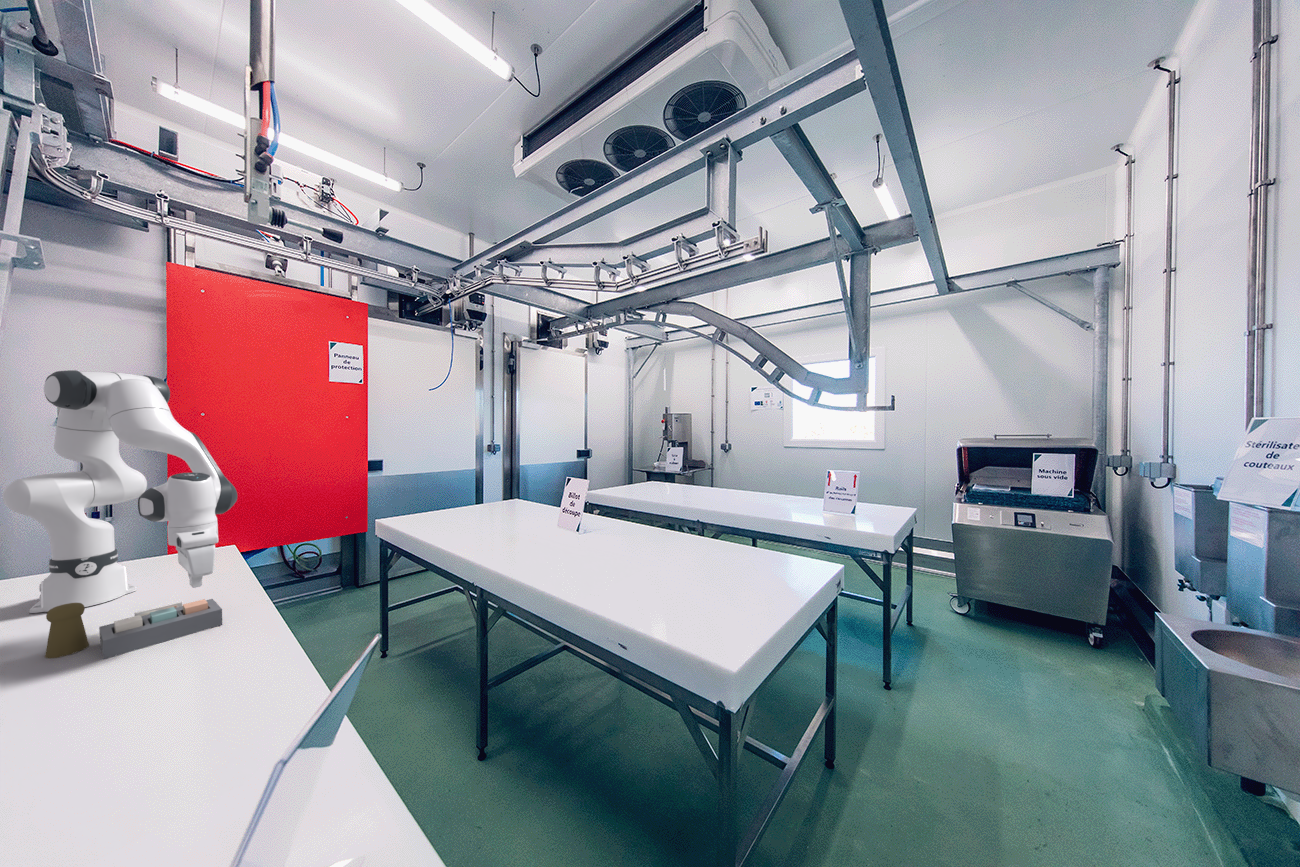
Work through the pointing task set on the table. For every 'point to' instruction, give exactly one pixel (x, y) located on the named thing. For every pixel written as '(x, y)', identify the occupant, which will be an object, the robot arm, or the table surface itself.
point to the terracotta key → (195, 606)
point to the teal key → (162, 615)
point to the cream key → (128, 623)
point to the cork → (66, 630)
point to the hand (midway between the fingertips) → (196, 586)
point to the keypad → (158, 629)
